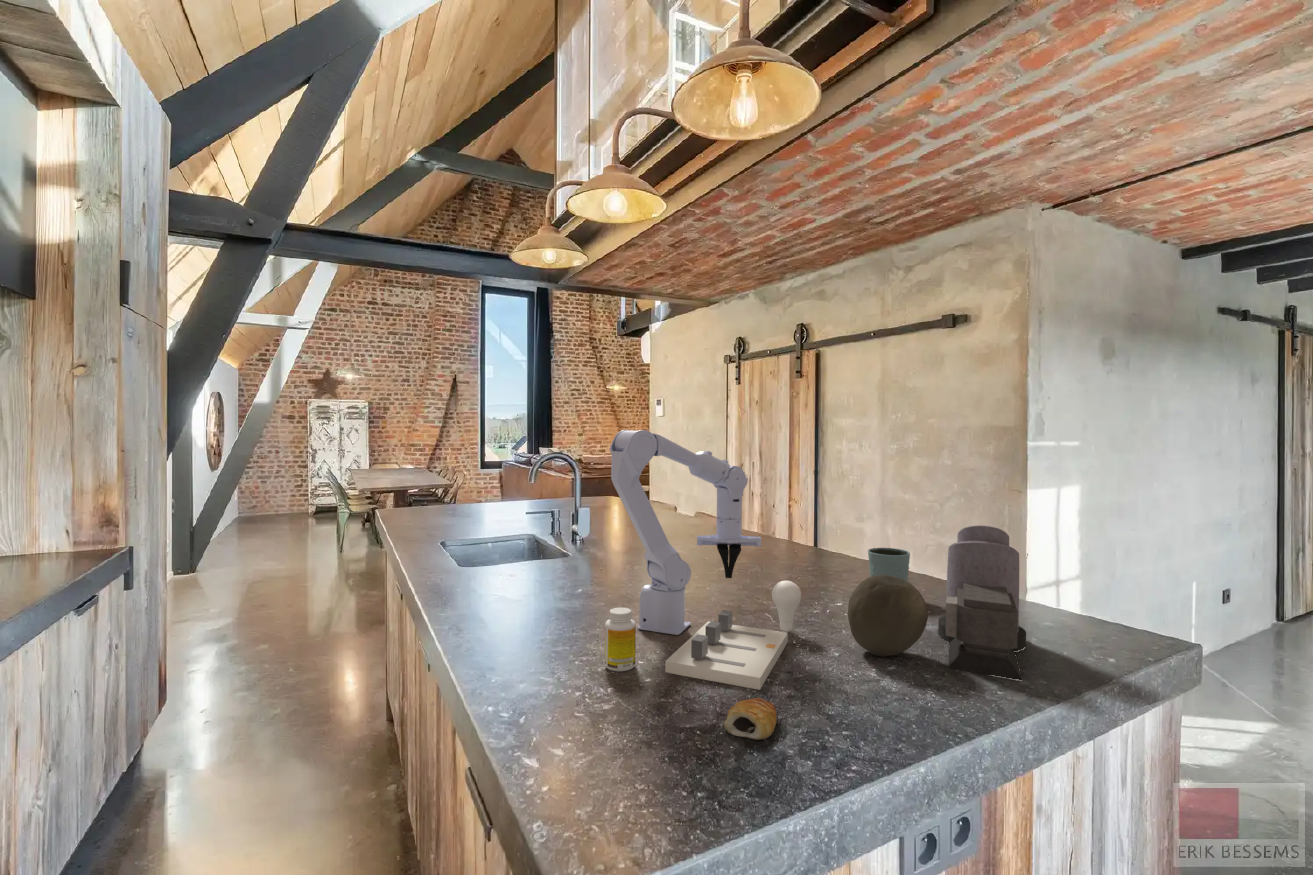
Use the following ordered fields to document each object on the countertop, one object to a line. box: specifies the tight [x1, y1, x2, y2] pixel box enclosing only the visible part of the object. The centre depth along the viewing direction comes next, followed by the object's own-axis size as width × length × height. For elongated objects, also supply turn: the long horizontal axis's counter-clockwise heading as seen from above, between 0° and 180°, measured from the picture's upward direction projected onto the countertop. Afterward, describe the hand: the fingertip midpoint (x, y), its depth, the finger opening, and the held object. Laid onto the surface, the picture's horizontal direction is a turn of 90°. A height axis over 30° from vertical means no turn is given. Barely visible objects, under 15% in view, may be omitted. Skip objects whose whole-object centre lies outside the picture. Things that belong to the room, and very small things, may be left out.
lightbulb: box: [771, 580, 802, 633], centre depth 127 cm, size 6×6×11 cm
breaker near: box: [691, 634, 708, 660], centre depth 107 cm, size 2×3×3 cm, turn 157°
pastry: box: [723, 697, 778, 741], centre depth 87 cm, size 9×7×4 cm
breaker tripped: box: [705, 621, 721, 645], centre depth 115 cm, size 2×3×3 cm, turn 157°
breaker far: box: [717, 609, 733, 631], centre depth 122 cm, size 2×3×3 cm, turn 157°
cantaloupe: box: [847, 575, 929, 657], centre depth 115 cm, size 14×14×15 cm
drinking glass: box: [867, 547, 911, 582], centre depth 154 cm, size 10×10×12 cm
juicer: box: [937, 525, 1027, 680], centre depth 119 cm, size 30×16×24 cm, turn 153°
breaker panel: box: [664, 620, 789, 691], centre depth 113 cm, size 17×24×2 cm
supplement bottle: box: [604, 607, 637, 673], centre depth 108 cm, size 6×6×10 cm
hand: (728, 577), depth 136 cm, fingers closed
